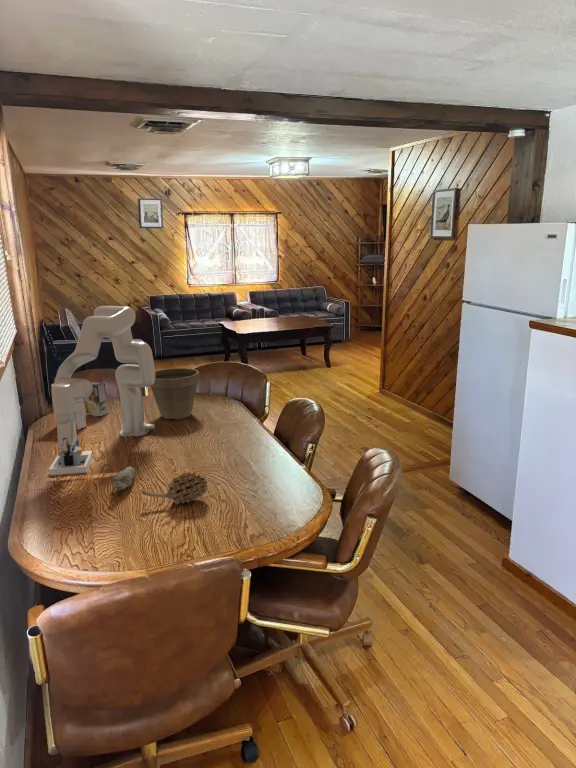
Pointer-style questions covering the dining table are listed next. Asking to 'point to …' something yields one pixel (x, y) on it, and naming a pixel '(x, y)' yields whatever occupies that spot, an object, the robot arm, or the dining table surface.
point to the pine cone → (183, 488)
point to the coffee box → (97, 400)
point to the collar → (76, 456)
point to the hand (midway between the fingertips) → (71, 461)
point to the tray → (69, 470)
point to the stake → (82, 451)
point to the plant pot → (175, 391)
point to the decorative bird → (123, 479)
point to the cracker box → (79, 414)
